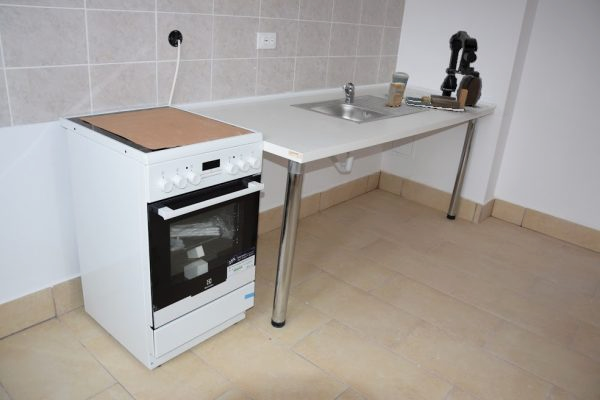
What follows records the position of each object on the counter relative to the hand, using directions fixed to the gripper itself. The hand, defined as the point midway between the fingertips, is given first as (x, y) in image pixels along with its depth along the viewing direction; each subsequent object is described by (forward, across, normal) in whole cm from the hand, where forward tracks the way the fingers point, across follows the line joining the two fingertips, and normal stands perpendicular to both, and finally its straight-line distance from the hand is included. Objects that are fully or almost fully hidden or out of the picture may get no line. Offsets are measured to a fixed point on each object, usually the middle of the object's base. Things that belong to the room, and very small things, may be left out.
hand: (459, 87), depth 294 cm
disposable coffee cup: (+13, -33, +14) cm, 39 cm away
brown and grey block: (+13, +3, -2) cm, 13 cm away
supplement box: (+13, -38, -14) cm, 43 cm away
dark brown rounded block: (+13, +11, +15) cm, 23 cm away
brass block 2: (+10, -16, -5) cm, 20 cm away
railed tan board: (+13, -7, -2) cm, 14 cm away
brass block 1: (+10, -16, +1) cm, 19 cm away
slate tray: (+13, -21, -1) cm, 25 cm away
